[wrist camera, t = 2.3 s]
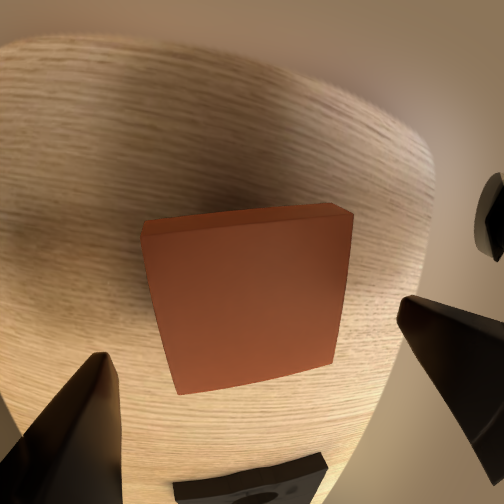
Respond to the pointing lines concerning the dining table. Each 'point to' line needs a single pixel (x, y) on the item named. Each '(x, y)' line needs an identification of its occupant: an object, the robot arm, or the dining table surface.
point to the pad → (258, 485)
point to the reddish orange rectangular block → (247, 291)
